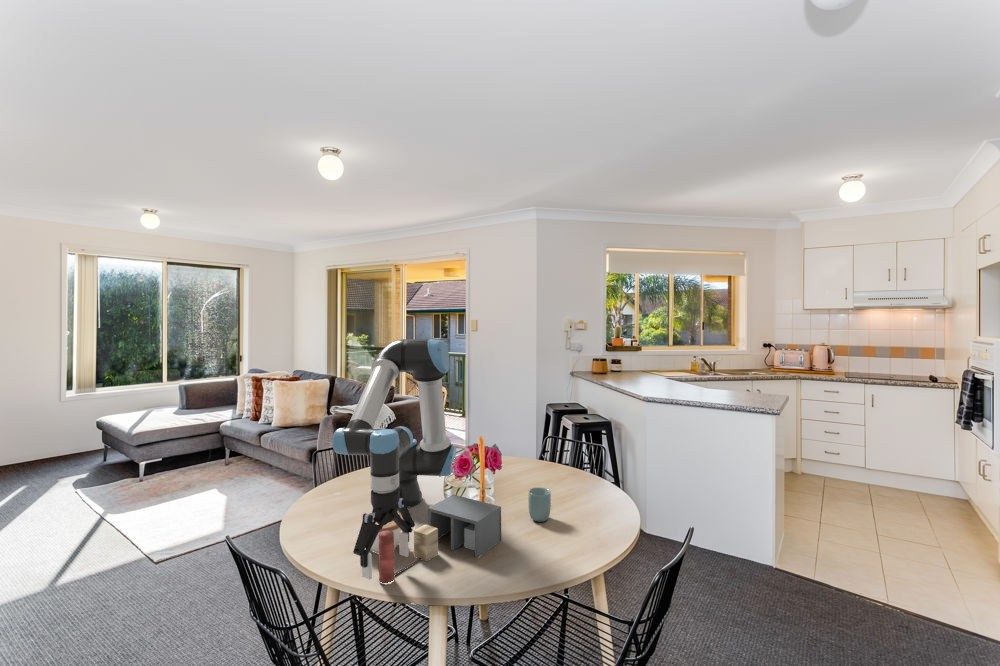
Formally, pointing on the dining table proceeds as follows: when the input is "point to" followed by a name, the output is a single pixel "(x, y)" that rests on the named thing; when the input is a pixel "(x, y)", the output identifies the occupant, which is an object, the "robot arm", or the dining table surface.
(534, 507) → the cup
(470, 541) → the block
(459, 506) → the cubby
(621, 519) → the dining table surface
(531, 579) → the dining table surface
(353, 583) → the dining table surface
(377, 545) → the white lidded jar
